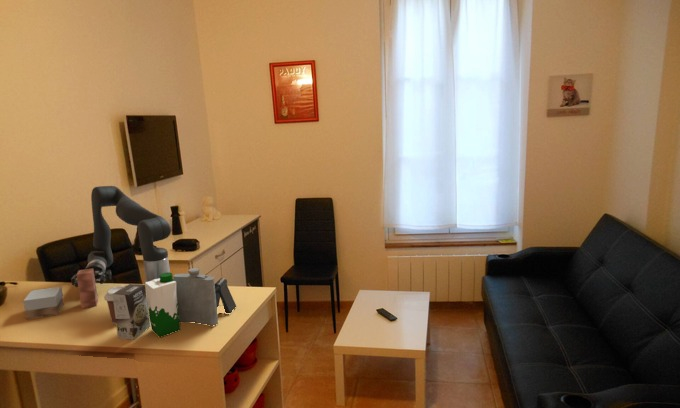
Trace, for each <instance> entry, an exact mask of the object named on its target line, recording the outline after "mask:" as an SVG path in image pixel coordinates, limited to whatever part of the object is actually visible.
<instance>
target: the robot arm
mask: <svg viewBox="0 0 680 408" xmlns="http://www.w3.org/2000/svg"><path fill="white" fill-rule="evenodd" d="M90 195H91V197H90V198H91V199H90V200H91V202H90V203H91V211H92V220H93V221H92V223H93V239H92V240H93V241H92V246H93V247H94V248H95V249H97V250H94V251H93V250H92V251H90V253H89V254H88V255H87V263H88V264H87V266H85V269H92V268H93V270H94V276H95V283H97V282H98V281H99V283H100V285H103V284H104V283H105V282H106V281H107V280H108V281H110V280H112V270H111V269H107V268H108V267H111V265H112V264H113V263H114V255H113V252H112V248H111V238H112V230H111V228H110V225H109V224H108V222H107V221H106V219H105V218H104V216H103V213H102V210H103V209H102V208H105V207H115V214H116V216H117V217H118V218H119V219H120V220H121V221H123V222H124V223H126V224H128V225H131V226H136V227H137V234H138V240H139V246H140V250H141V251H140V252H141V255H142V261H143V269H144V276H145V282H149V281H152V280H154V279H159V278H160V275H161V274H163V273H171V270H170V269H171V268H170V262H169V252H168V250H167V249H166V248H164V247H157V246H155V245H154V243H155V242H159V241H163V240H165V239H168V237H170V235H171V232H172V230H171V225H170V223H169V222H168V221H167V219H165V218H164V217H162V216H160V215H158V214H157V213H154V212H152V211H150V210H148V209H147V208H145V207H143V206H142V205H141V204H140V203H138V202H137V201H135V200H133V199H131V198H130V197H129V196H128V195H126V194H125V193H124V192H123V191H122V190H121V189H120V188H118V187H117V186H115V185H104V186H103V185H102V186H101V185H99V186H95V187H93V188H92V190H91V194H90ZM98 250H99V251H98ZM106 269H107V270H106ZM70 281H71V282H70V283H71V285H72V286H74V287H75V288H77V289H78V288H79V287H78V281H77V273H75V274H74V275H73V276H72V277H71V278H70Z"/></svg>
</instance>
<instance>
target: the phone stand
mask: <svg viewBox="0 0 680 408" xmlns="http://www.w3.org/2000/svg"><path fill="white" fill-rule="evenodd" d="M215 294H216V305H217V307H218V306H220V301H221V303H222V306H224V309H225V312H226V313H231V312H232V310H233V309H234V308H235V307H236V308H237V304H236V303H235V300H234V297H233V296H232V294H231V292H230V289H229V287H228V280H227V279H226V278H225V277H220V278H219V279H218V280H217V281H215ZM236 308H235V309H236ZM235 309H234V310H235ZM232 313H233V312H232ZM232 313H231V314H232Z"/></svg>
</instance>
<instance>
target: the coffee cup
mask: <svg viewBox="0 0 680 408" xmlns="http://www.w3.org/2000/svg"><path fill="white" fill-rule="evenodd" d="M125 286H126V285H118V286H114V287H110V288H109V289H107V291H106V294H104V296H103V297H104V300H105V301H106V302H107V307H108V311H109V314H110V315H109V316H110V319H111V323H112V324H113V325H116V318H115V310H114V302H113V293H115V292H117V291H118V290H120V289H122V288H124V287H125Z"/></svg>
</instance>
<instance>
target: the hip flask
mask: <svg viewBox="0 0 680 408" xmlns="http://www.w3.org/2000/svg"><path fill="white" fill-rule="evenodd" d="M172 276H173V279H174V280H175V281H176V293H177V303H178V312H179V322H180V323H181V322H195V323H201V324H200V325H202V324H207V325H210V326H213V325H216V324H218V325H219V319H218V318H219V317H218V314H217V305H216V294H215V283H216V281H215V277H214V276H210V275H205V274H202V273H200V268H198V267H194V268H193V267H191V268H190V269H188V273H176V274H172ZM195 323H194V324H195ZM210 326H209V327H210Z"/></svg>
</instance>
